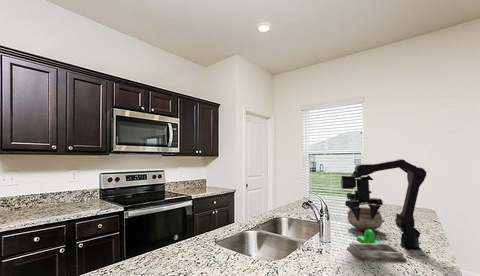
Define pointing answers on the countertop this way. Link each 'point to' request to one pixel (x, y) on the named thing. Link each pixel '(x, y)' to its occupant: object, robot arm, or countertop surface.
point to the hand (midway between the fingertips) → (365, 219)
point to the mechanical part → (367, 237)
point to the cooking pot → (365, 219)
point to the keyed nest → (375, 252)
